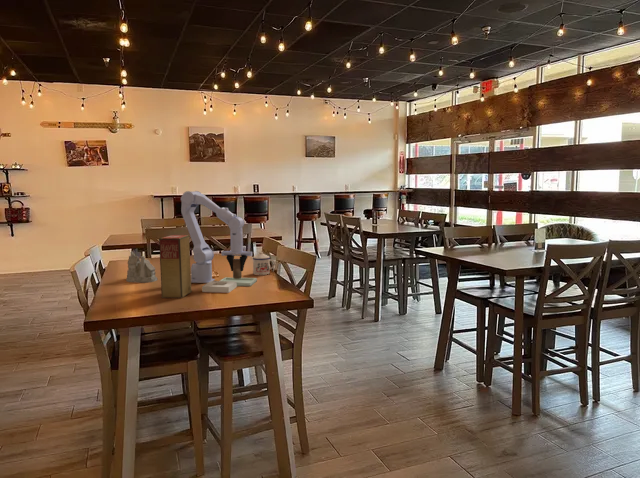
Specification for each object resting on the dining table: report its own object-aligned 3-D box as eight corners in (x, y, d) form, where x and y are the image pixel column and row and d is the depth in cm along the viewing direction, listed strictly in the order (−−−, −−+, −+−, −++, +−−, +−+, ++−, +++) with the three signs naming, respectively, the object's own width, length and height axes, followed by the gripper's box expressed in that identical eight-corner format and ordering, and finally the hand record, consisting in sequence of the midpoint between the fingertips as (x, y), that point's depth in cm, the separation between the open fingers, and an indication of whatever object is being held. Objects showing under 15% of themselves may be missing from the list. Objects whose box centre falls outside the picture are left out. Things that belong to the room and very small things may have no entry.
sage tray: (217, 285, 220) (217, 282, 220) (225, 280, 232) (224, 277, 232) (250, 286, 218) (250, 283, 218) (256, 281, 230) (256, 278, 230)
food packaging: (171, 291, 208) (169, 234, 205) (192, 291, 208) (190, 234, 205) (160, 298, 195) (158, 238, 192) (182, 298, 195) (180, 238, 192)
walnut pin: (231, 278, 223) (231, 259, 222) (234, 277, 227) (234, 258, 226) (240, 278, 222) (239, 260, 221) (242, 277, 226) (242, 258, 225)
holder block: (202, 291, 206) (202, 286, 206) (211, 286, 218) (211, 280, 218) (228, 292, 205) (228, 287, 205) (236, 286, 217) (236, 281, 217)
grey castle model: (147, 283, 224) (146, 251, 223) (119, 282, 229) (118, 251, 228) (167, 279, 239) (166, 249, 238) (140, 278, 244) (139, 249, 243)
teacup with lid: (255, 275, 244) (254, 253, 242) (251, 272, 252) (250, 251, 251) (277, 274, 248) (277, 252, 247) (272, 271, 256) (272, 250, 255)
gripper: (219, 243, 220) (219, 271, 221) (249, 243, 218) (249, 272, 220) (223, 241, 227) (224, 269, 228) (253, 241, 225) (253, 269, 227)
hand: (237, 270), depth 224 cm, fingers closed on walnut pin, 4 cm apart
